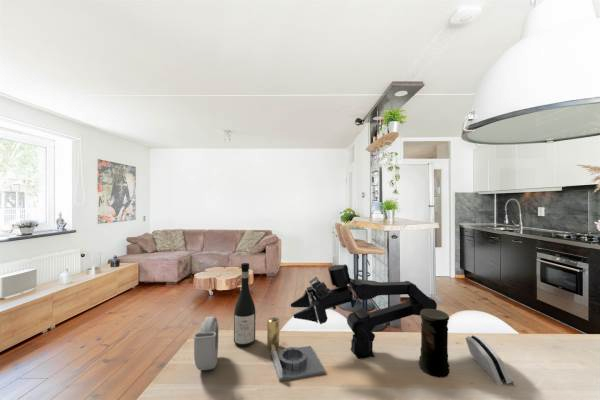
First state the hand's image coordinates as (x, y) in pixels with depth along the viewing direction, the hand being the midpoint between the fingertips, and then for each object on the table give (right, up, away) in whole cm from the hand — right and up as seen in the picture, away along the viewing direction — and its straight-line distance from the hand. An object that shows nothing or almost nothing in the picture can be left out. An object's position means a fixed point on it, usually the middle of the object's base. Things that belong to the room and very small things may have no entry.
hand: (292, 310), depth 94 cm
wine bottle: (-18, -16, +10) cm, 27 cm away
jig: (+2, -16, -3) cm, 17 cm away
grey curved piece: (+63, -17, -5) cm, 66 cm away
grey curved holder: (-27, -16, -5) cm, 32 cm away
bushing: (-7, -16, +7) cm, 19 cm away
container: (+46, -17, -6) cm, 49 cm away
